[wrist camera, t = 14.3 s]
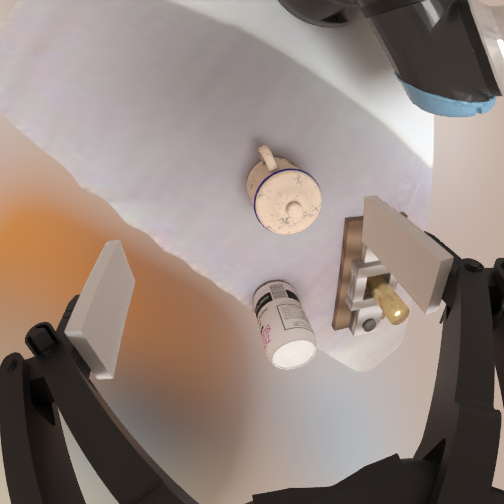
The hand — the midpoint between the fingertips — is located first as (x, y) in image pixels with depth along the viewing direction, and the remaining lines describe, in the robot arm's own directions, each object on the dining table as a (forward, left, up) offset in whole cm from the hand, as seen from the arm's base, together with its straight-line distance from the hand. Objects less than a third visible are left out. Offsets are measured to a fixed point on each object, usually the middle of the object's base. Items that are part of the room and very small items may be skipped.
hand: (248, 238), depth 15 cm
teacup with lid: (-1, +9, -30) cm, 32 cm away
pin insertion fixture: (+3, +38, -30) cm, 49 cm away
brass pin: (+4, +38, -29) cm, 48 cm away
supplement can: (+17, +24, -30) cm, 43 cm away
